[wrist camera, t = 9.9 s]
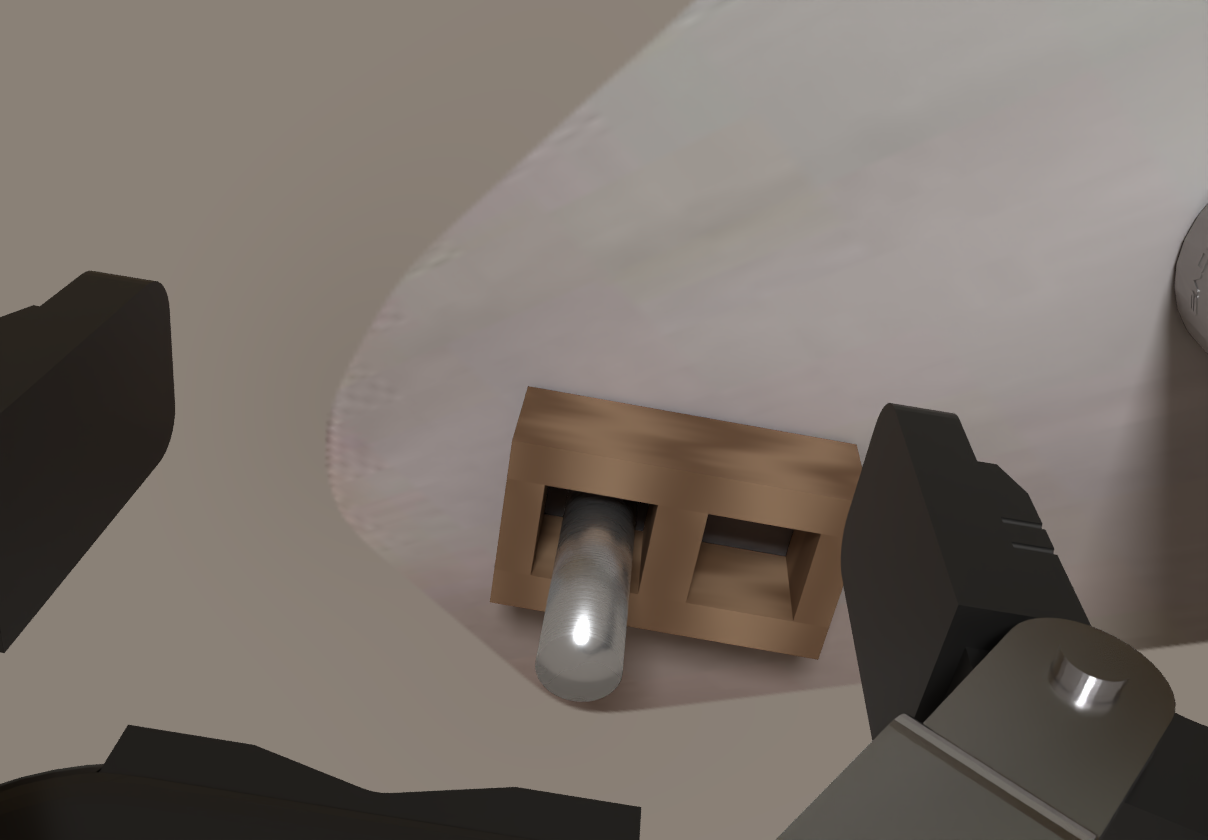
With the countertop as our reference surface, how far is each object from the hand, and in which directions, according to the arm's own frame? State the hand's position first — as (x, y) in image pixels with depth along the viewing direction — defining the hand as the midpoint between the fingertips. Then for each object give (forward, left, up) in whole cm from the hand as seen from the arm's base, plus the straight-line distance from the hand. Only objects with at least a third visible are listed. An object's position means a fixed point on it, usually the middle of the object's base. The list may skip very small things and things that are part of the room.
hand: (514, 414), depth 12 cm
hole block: (-5, +20, -30) cm, 36 cm away
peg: (-2, +20, -30) cm, 36 cm away
